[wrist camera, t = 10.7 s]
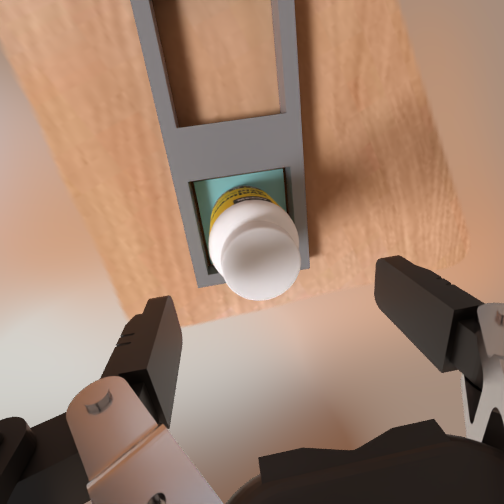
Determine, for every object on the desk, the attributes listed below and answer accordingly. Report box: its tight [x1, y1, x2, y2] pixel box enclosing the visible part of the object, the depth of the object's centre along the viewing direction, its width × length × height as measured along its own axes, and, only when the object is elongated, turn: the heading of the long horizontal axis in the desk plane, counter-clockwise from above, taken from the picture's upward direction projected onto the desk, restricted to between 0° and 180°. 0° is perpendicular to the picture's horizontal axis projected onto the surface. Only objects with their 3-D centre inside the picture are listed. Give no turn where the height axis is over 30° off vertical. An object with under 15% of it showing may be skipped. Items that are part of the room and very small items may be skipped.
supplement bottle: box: [209, 186, 301, 301], centre depth 18 cm, size 5×5×10 cm
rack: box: [130, 0, 310, 288], centre depth 20 cm, size 20×10×2 cm, turn 8°
